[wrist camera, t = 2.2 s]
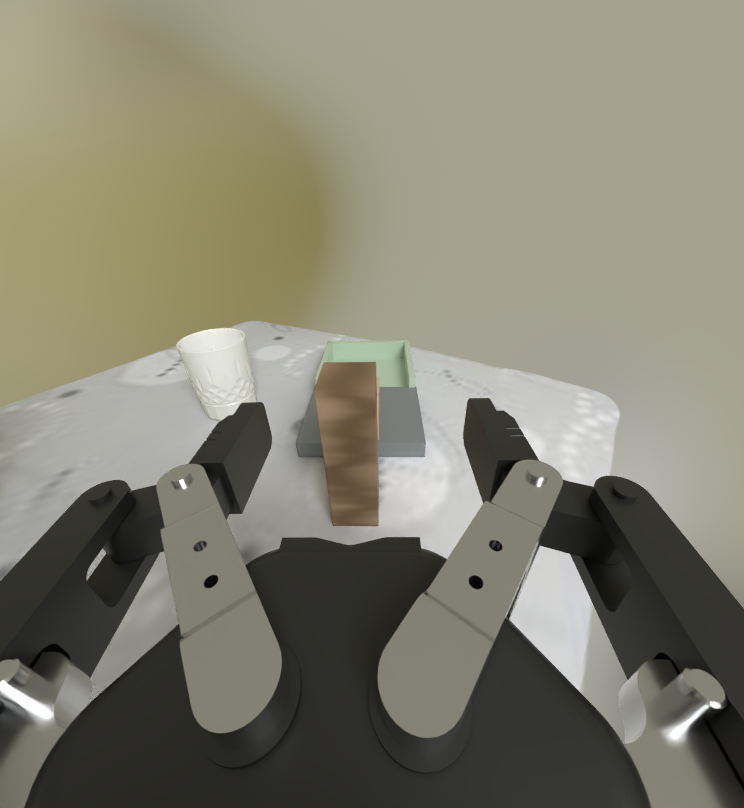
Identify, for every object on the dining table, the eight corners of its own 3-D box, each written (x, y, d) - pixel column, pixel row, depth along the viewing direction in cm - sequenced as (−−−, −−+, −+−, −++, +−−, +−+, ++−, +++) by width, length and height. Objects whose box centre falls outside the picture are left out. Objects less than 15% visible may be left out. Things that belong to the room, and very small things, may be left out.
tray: (317, 400, 47) (314, 378, 45) (330, 360, 58) (328, 341, 56) (414, 399, 47) (415, 377, 45) (408, 359, 58) (408, 340, 56)
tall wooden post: (333, 525, 29) (314, 388, 22) (338, 491, 33) (323, 362, 25) (378, 525, 29) (375, 388, 22) (378, 491, 33) (376, 361, 25)
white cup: (192, 407, 46) (166, 339, 41) (245, 387, 51) (228, 323, 45) (215, 431, 42) (189, 358, 36) (271, 406, 46) (256, 338, 41)
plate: (298, 456, 37) (296, 442, 36) (316, 399, 47) (314, 387, 46) (424, 456, 37) (425, 442, 36) (415, 399, 47) (416, 386, 46)
